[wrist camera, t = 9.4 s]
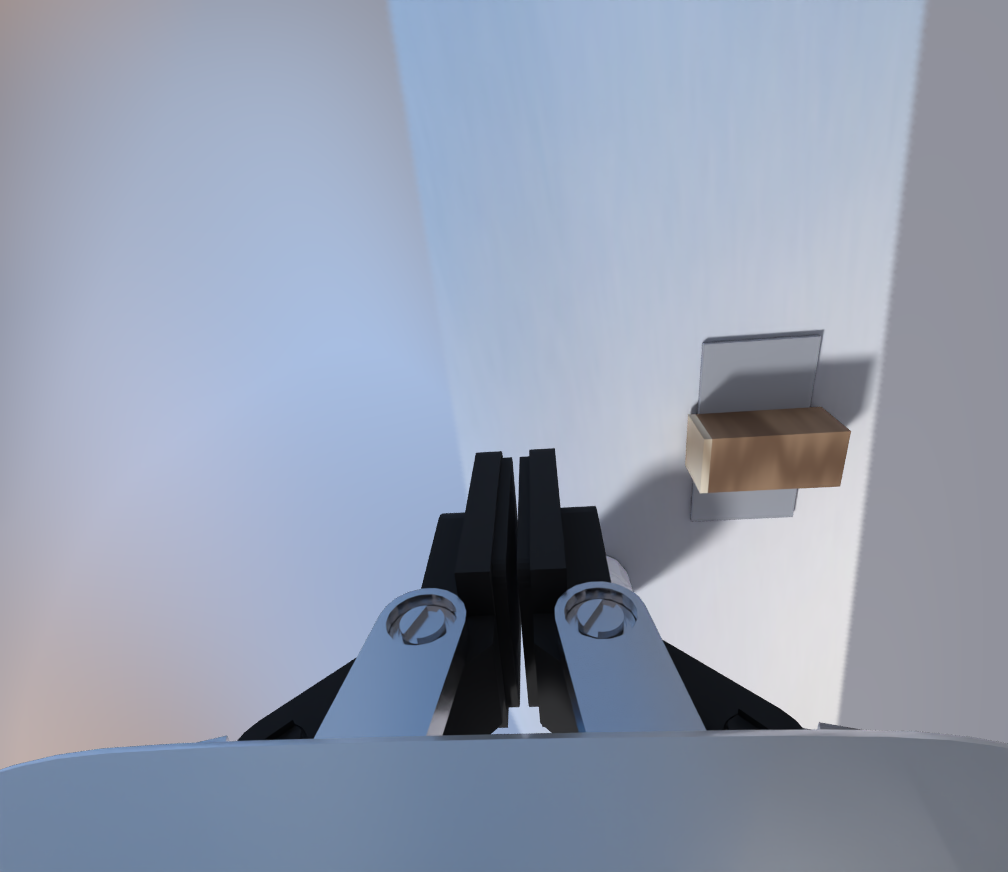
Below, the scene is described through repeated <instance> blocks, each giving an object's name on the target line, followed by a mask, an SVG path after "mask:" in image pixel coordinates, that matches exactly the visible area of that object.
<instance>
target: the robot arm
mask: <svg viewBox="0 0 1008 872" xmlns="http://www.w3.org/2000/svg"><path fill="white" fill-rule="evenodd" d="M521 627H522V637H523V648H524V659H525V670H526V681H527V692H528V703H529V707H539V713H540V723H541V724H542V727H546V728H547V729H548V730H549V731H550V732H552V733H536V734H491V733H493V732H494V731H495V730H496V729H497V728H508V711H509V707H519V706H520V658H521ZM0 872H1008V743H1004V742H998V741H992V740H987V739H981V738H975V737H970V736H960V735H949V734H940V733H930V732H919V731H876V730H875V731H873V730H860V729H855V728H848V727H843V726H837V725H832V724H826V723H820V722H819V724H818V729H817V730H811V729H805V728H802V727H801V726H800V724H799V723H798V722H797V721H796V720H795V719H793V718H792V717H791V716H789V715H788V714H787V713H785V712H784V711H783V710H781V709H780V708H778V707H776V706H775V705H773V704H771V703H769V702H768V701H766V700H764V699H763V698H761V697H759V696H758V695H756V694H754V693H752V692H751V691H749V690H747V689H746V688H744V687H742V686H740V685H739V684H737V683H735V682H734V681H732V680H730V679H729V678H727V677H725V676H723V675H722V674H720V673H718V672H717V671H715V670H713V669H711V668H710V667H708V666H706V665H705V664H703V663H701V662H700V661H698V660H696V659H694V658H693V657H691V656H689V655H688V654H686V653H684V652H683V651H681V650H679V649H677V648H676V647H674V646H672V645H671V644H669V643H667V642H665V641H664V640H662V638H661V636H660V634H659V632H658V630H657V628H656V626H655V624H654V622H653V620H652V618H651V616H650V614H649V612H648V610H647V608H646V606H645V604H644V603H643V602H642V600H641V599H640V597H639V596H638V595H636V594H635V593H634V592H632V591H631V590H629V589H628V588H625V587H623V586H620V585H618V584H614V583H611V578H610V573H609V568H608V563H607V558H606V553H605V548H604V543H603V538H602V533H601V528H600V523H599V518H598V513H597V509H596V506H587V507H567V508H560V498H559V488H558V477H557V467H556V456H555V448H552V449H534V450H529V456H528V457H520V464H519V500H518V519H517V507H516V495H515V484H514V472H513V461H512V457H510V458H503V455H502V451H499V452H481V453H476V455H475V461H474V466H473V472H472V477H471V483H470V488H469V494H468V500H467V505H466V511H465V513H446V514H441V515H440V517H439V520H438V524H437V528H436V532H435V536H434V540H433V544H432V548H431V552H430V555H429V560H428V563H427V567H426V572H425V575H424V580H423V583H422V587H421V589H419V590H415V591H411V592H408V593H405V594H403V595H401V596H399V597H397V598H396V599H394V600H393V601H392V602H391V603H389V604H388V605H387V606H386V607H385V608H384V610H383V611H382V612H381V614H380V615H379V617H378V619H377V621H376V623H375V624H374V626H373V628H372V630H371V632H370V634H369V636H368V637H367V639H366V641H365V643H364V645H363V647H362V649H361V651H360V652H359V654H358V656H357V658H355V659H354V660H352V661H350V662H349V663H347V664H346V665H344V666H343V667H341V668H340V669H338V670H337V671H335V672H334V673H332V674H330V675H329V676H327V677H326V678H325V679H323V680H321V681H320V682H318V683H317V684H315V685H314V686H312V687H310V688H309V689H307V690H306V691H304V692H303V693H301V694H300V695H298V696H297V697H295V698H294V699H292V700H291V701H289V702H288V703H286V704H284V705H283V706H281V707H280V708H278V709H277V710H275V711H274V712H272V713H271V714H269V715H267V716H266V717H264V718H263V719H261V720H260V721H258V722H257V723H256V724H254V725H253V726H252V727H251V728H249V729H248V730H247V731H246V732H244V734H243V735H242V736H241V737H240V738H239V739H238V741H229V739H228V736H223V737H218V738H214V739H210V740H205V741H201V742H196V743H177V744H159V745H145V746H130V747H115V748H102V749H94V750H88V751H80V752H73V753H66V754H59V755H54V756H50V757H46V758H42V759H37V760H33V761H29V762H25V763H20V764H16V765H12V766H9V767H7V768H4V769H1V770H0Z"/></svg>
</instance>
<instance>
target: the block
mask: <svg viewBox="0 0 1008 872" xmlns="http://www.w3.org/2000/svg"><path fill="white" fill-rule="evenodd" d="M850 434H851V431H850V430H849V429H848V428H846V427H845V426H844V425H843V424H842V423H840V422H839V421H838V420H837V419H835V418H834V417H833V416H832V415H831V414H829V413H828V412H827V411H826V410H825V409H823V408H822V407H808V408H791V409H774V410H757V411H740V412H724V413H707V414H690V415H688V426H687V442H686V458H685V466H686V467H687V469H688V471H689V473H690V475H691V477H692V479H693V481H694V483H695V485H696V487H697V488H698V490H699V492H700V493H718V492H738V491H758V490H778V489H798V488H818V487H838V486H840V484H841V479H842V474H843V469H844V464H845V459H846V454H847V449H848V444H849V439H850Z"/></svg>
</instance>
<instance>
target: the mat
mask: <svg viewBox="0 0 1008 872" xmlns="http://www.w3.org/2000/svg"><path fill="white" fill-rule="evenodd" d="M820 342H821V336H819V335H811V336H797V337H782V338H767V339H753V340H738V341H723V342H709V343H702V357H701V371H700V386H699V400H698V414H707V413H724V412H740V411H757V410H774V409H791V408H808V407H810V405H811V399H812V392H813V386H814V380H815V374H816V367H817V361H818V355H819V349H820ZM796 492H797V489H778V490H758V491H738V492H718V493H700V492H699V490H698V488H697V487H696V485H695V483H694V481H693V488H692V502H691V517H690V519H691V521H692V522H693V521H715V520H736V519H758V518H779V517H793V511H794V505H795V499H796Z"/></svg>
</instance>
